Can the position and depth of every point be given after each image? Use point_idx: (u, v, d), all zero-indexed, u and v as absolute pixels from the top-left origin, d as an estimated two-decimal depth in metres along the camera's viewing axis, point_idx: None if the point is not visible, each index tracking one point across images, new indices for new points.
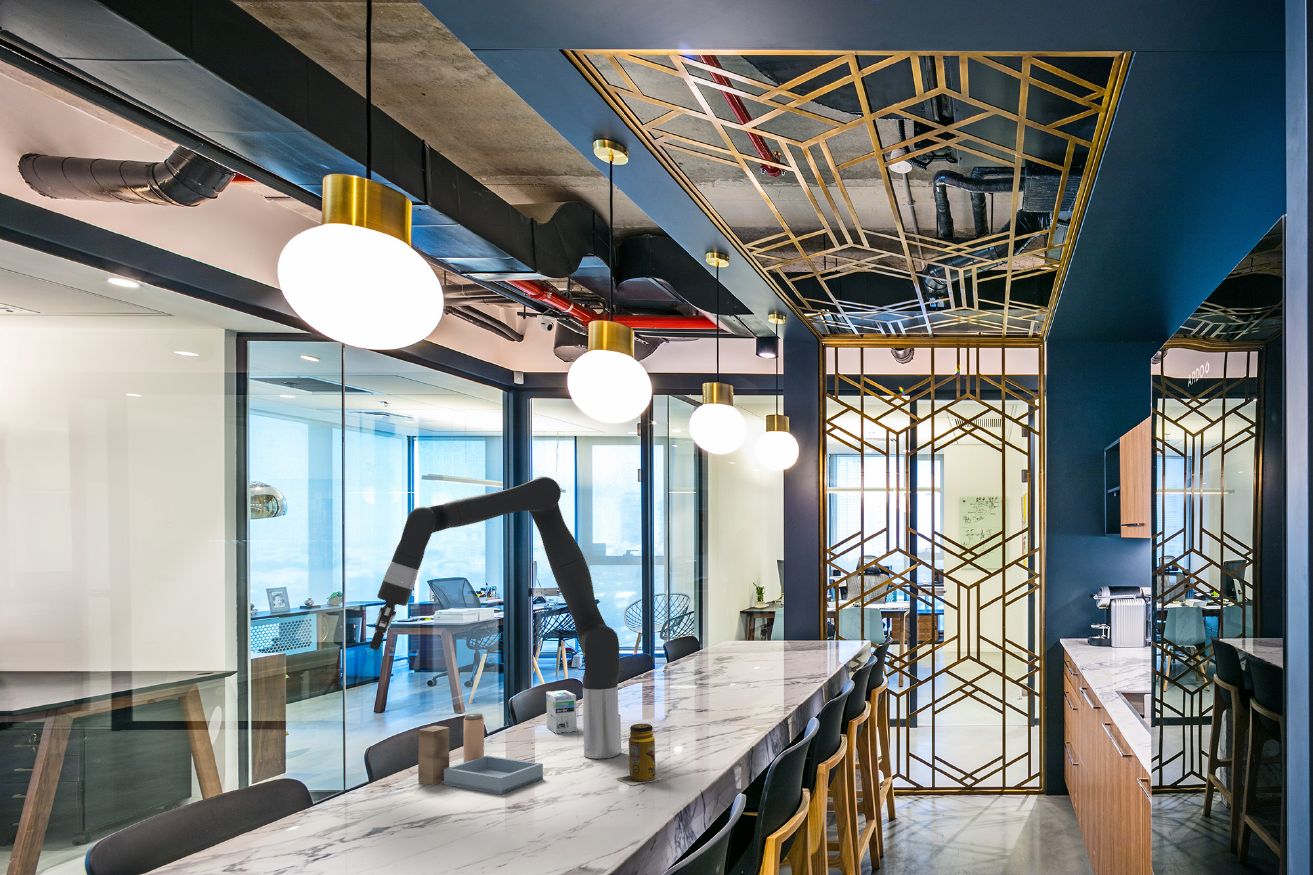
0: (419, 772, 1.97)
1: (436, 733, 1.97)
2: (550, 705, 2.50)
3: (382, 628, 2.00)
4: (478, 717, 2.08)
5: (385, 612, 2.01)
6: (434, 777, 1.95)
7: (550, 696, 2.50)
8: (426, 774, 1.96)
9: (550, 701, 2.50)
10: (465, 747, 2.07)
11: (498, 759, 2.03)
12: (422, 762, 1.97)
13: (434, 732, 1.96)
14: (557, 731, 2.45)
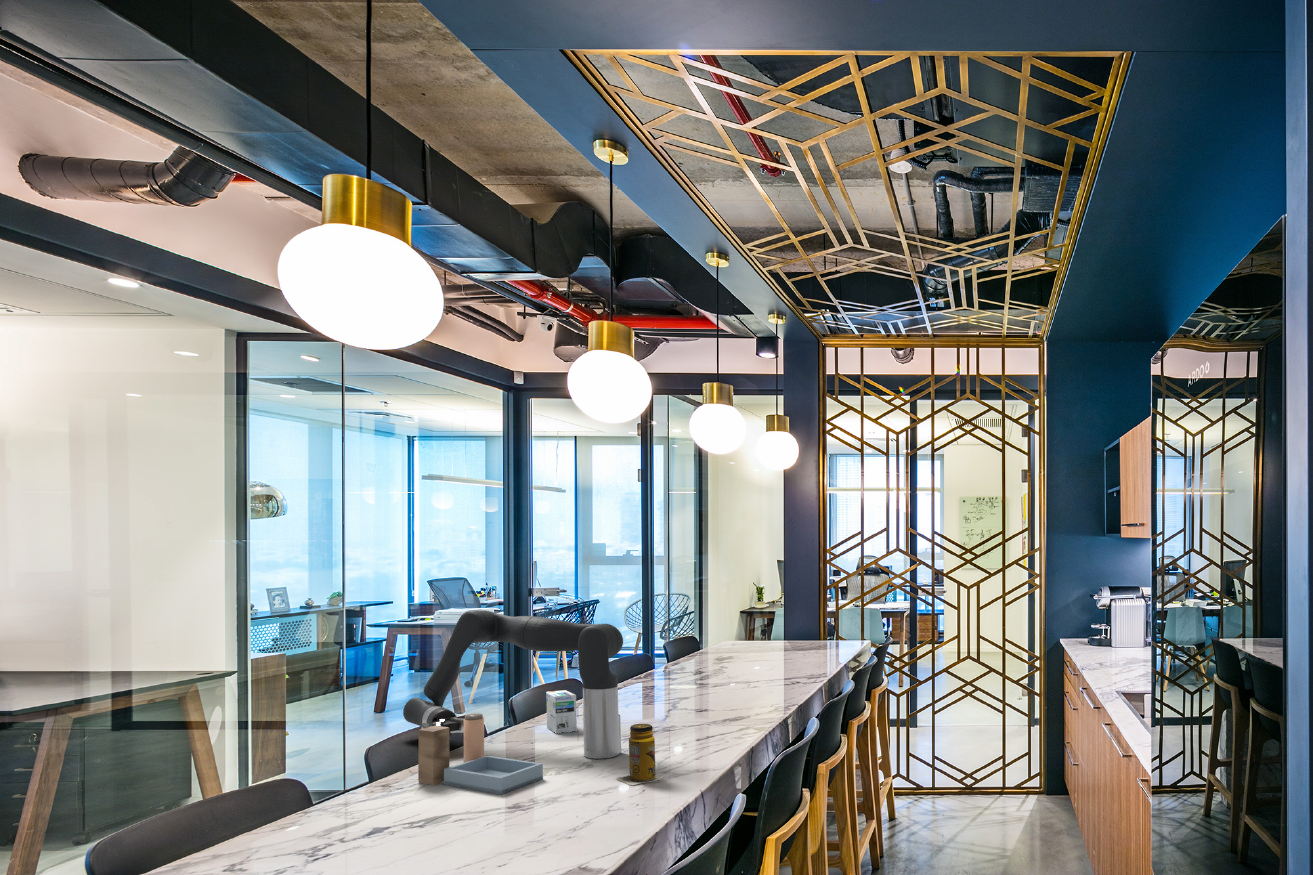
0: (419, 772, 1.97)
1: (436, 733, 1.97)
2: (550, 705, 2.50)
3: None
4: (478, 717, 2.08)
5: None
6: (434, 777, 1.95)
7: (550, 696, 2.50)
8: (426, 774, 1.96)
9: (550, 701, 2.50)
10: (465, 747, 2.07)
11: (498, 759, 2.03)
12: (422, 762, 1.97)
13: (434, 732, 1.96)
14: (557, 731, 2.45)
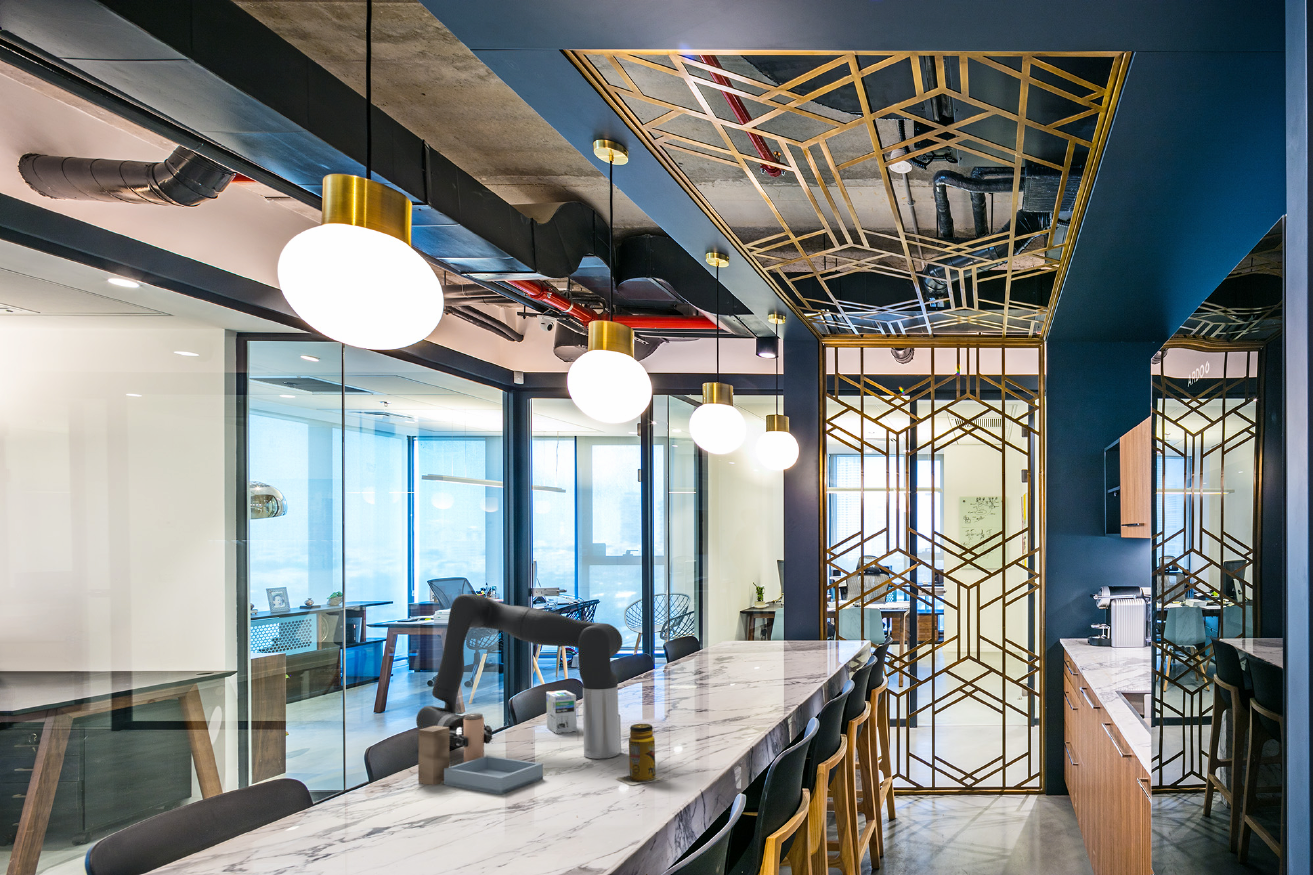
0: (419, 772, 1.97)
1: (436, 733, 1.97)
2: (550, 705, 2.50)
3: None
4: (478, 717, 2.08)
5: None
6: (434, 777, 1.95)
7: (550, 696, 2.50)
8: (426, 774, 1.96)
9: (550, 701, 2.50)
10: (465, 747, 2.07)
11: (498, 759, 2.03)
12: (422, 762, 1.97)
13: (434, 732, 1.96)
14: (557, 731, 2.45)
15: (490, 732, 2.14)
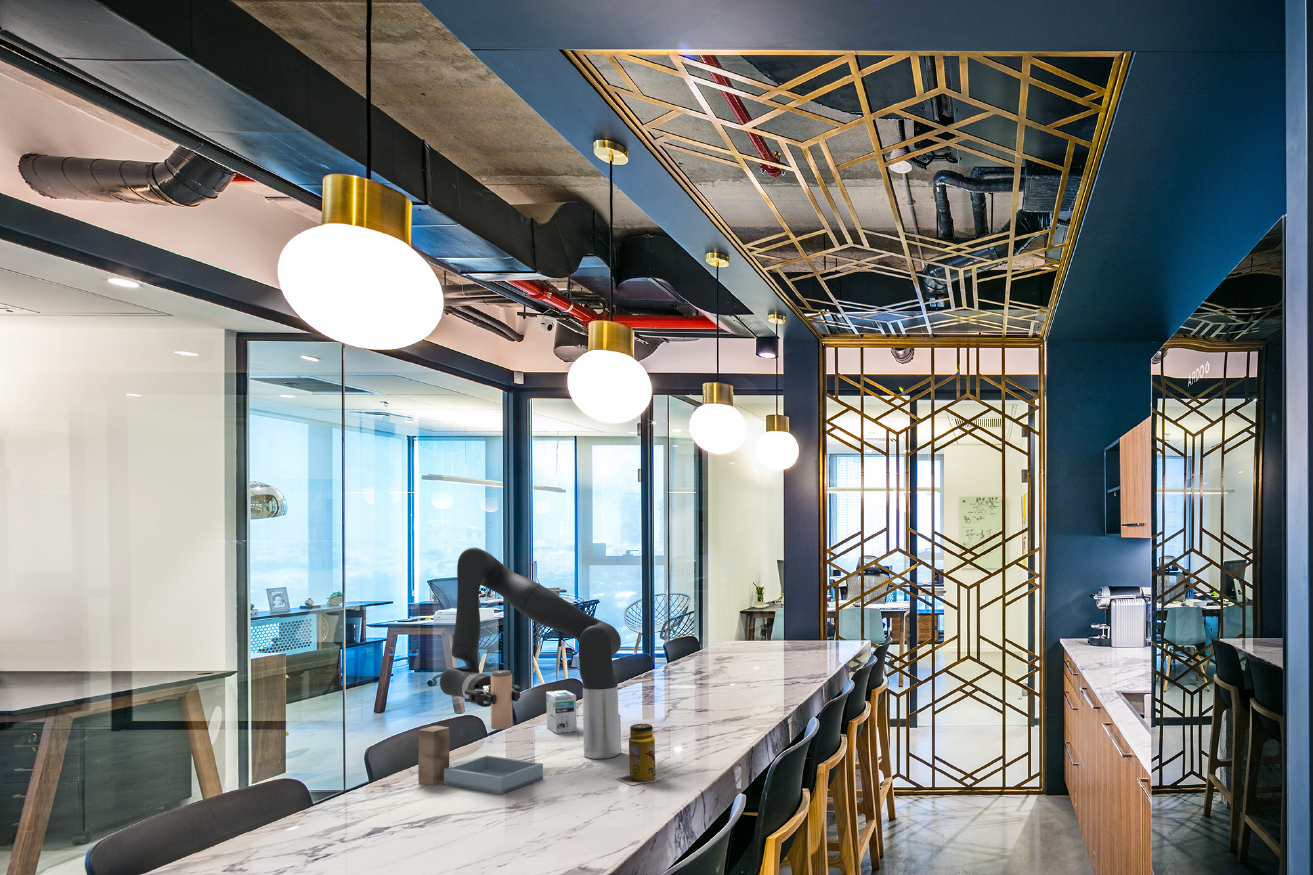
0: (419, 772, 1.97)
1: (436, 733, 1.97)
2: (550, 705, 2.50)
3: None
4: (506, 673, 1.99)
5: (466, 697, 2.01)
6: (434, 777, 1.95)
7: (550, 696, 2.50)
8: (426, 774, 1.96)
9: (550, 701, 2.50)
10: (492, 705, 1.98)
11: (498, 759, 2.03)
12: (422, 762, 1.97)
13: (434, 732, 1.96)
14: (557, 731, 2.45)
15: (518, 690, 2.04)
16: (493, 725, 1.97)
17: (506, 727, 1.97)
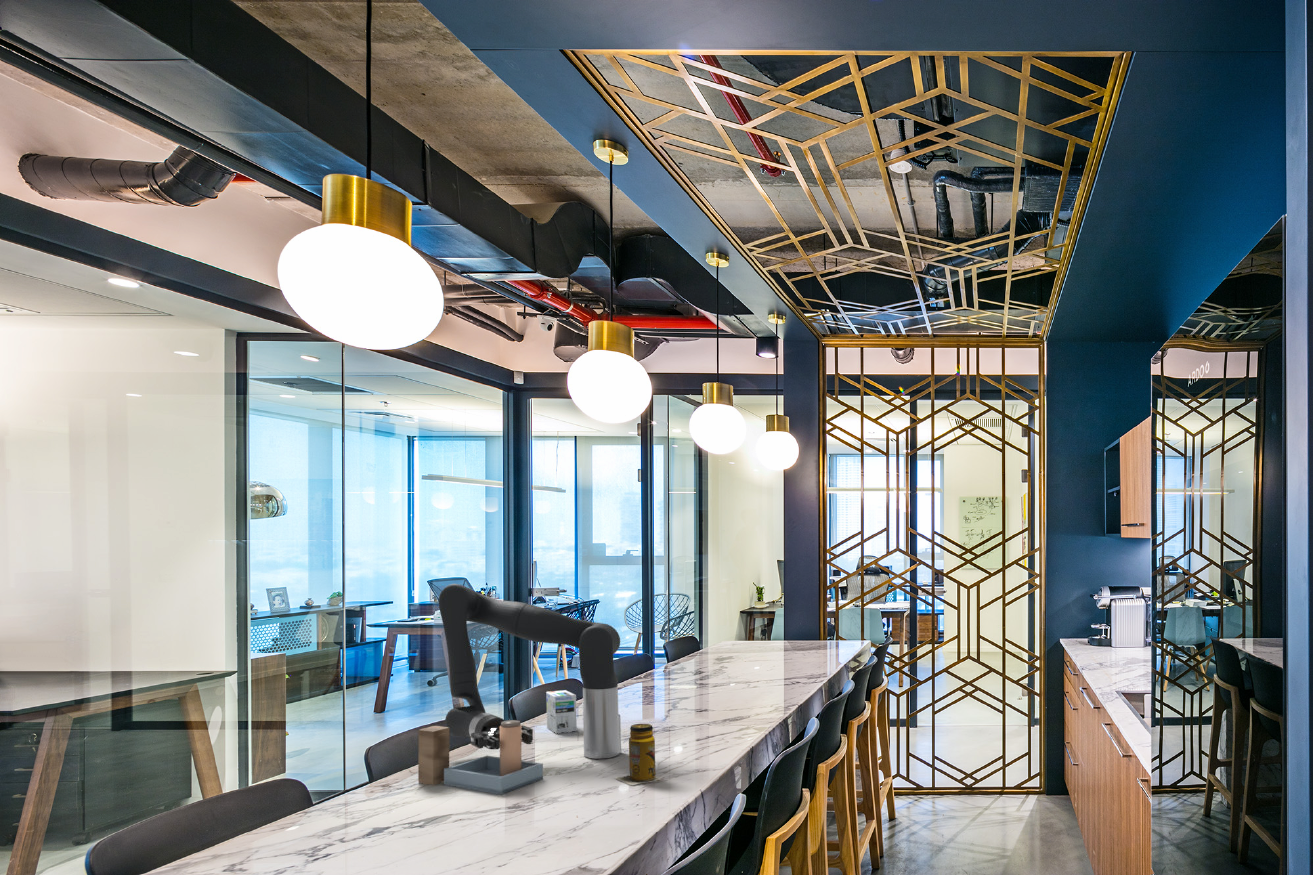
0: (419, 772, 1.97)
1: (436, 733, 1.97)
2: (550, 705, 2.50)
3: None
4: (515, 724, 1.94)
5: (472, 740, 1.97)
6: (434, 777, 1.95)
7: (550, 696, 2.50)
8: (426, 774, 1.96)
9: (550, 701, 2.50)
10: (501, 757, 1.93)
11: (498, 759, 2.03)
12: (422, 762, 1.97)
13: (434, 732, 1.96)
14: (557, 731, 2.45)
15: (531, 732, 2.00)
16: None
17: None
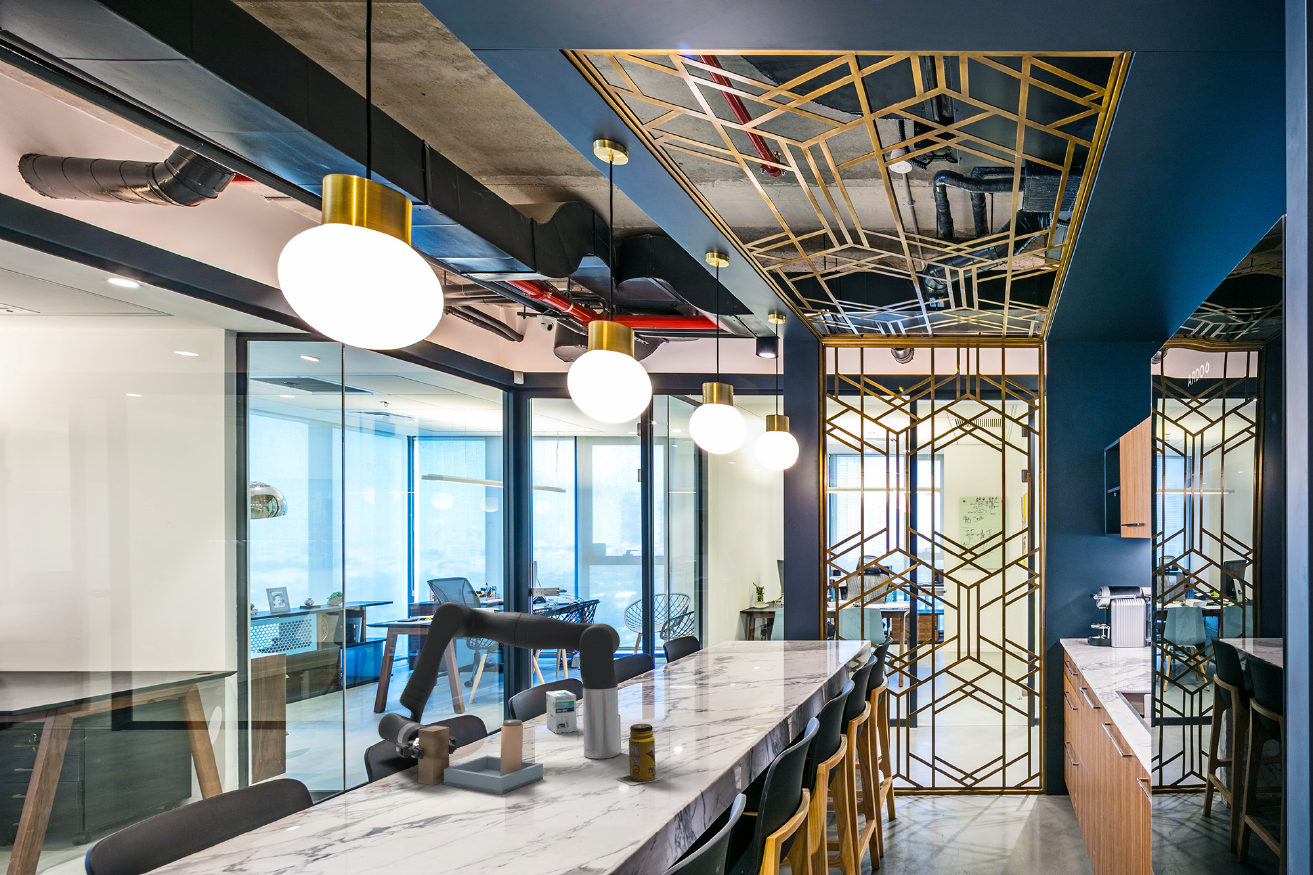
0: (419, 772, 1.97)
1: (436, 733, 1.96)
2: (550, 705, 2.50)
3: None
4: (516, 723, 1.94)
5: (397, 750, 2.01)
6: (434, 777, 1.95)
7: (550, 696, 2.50)
8: (425, 774, 1.96)
9: (550, 701, 2.50)
10: (502, 755, 1.93)
11: (498, 759, 2.03)
12: (422, 762, 1.97)
13: (434, 732, 1.96)
14: (557, 731, 2.45)
15: (454, 742, 2.03)
16: None
17: None
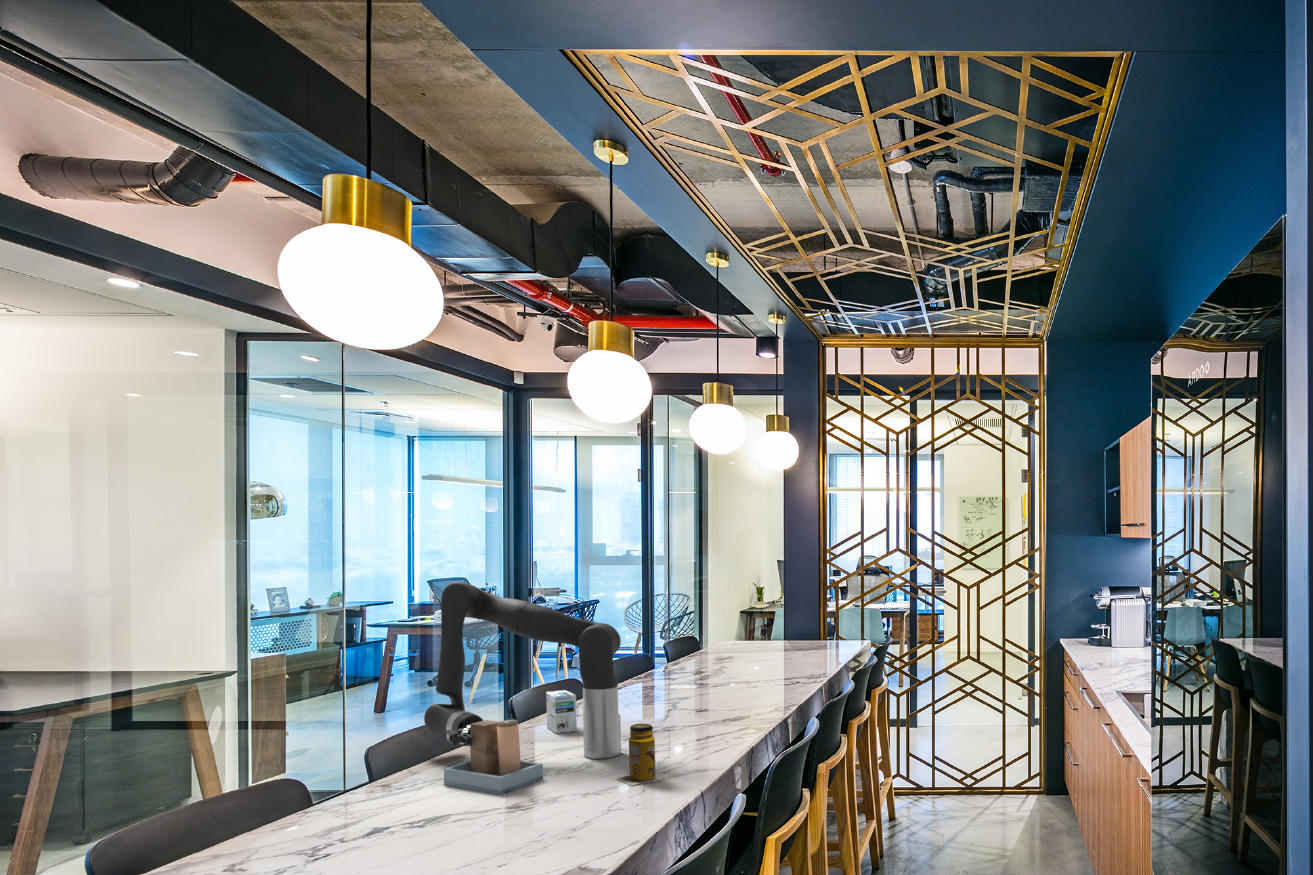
0: (471, 766, 1.98)
1: (488, 727, 1.97)
2: (550, 705, 2.50)
3: None
4: (509, 724, 1.94)
5: (447, 737, 2.02)
6: (487, 771, 1.95)
7: (550, 696, 2.50)
8: (478, 768, 1.96)
9: (550, 701, 2.50)
10: (499, 756, 1.94)
11: None
12: (474, 756, 1.97)
13: (486, 726, 1.97)
14: (557, 731, 2.45)
15: None
16: None
17: None
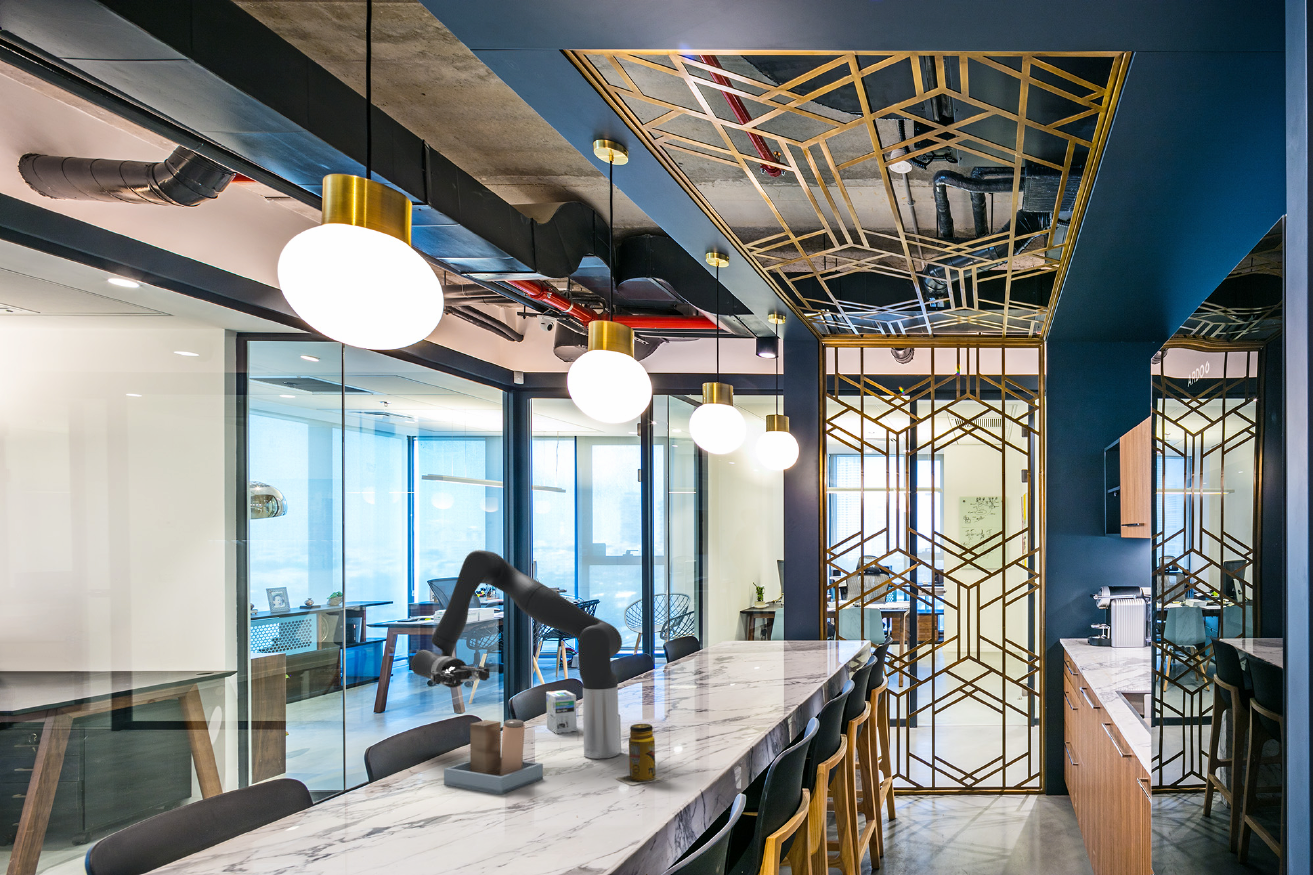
0: (471, 766, 1.98)
1: (488, 727, 1.97)
2: (550, 705, 2.50)
3: None
4: (514, 725, 1.93)
5: (431, 678, 2.14)
6: (487, 771, 1.95)
7: (550, 696, 2.50)
8: (478, 768, 1.96)
9: (550, 701, 2.50)
10: (501, 754, 1.94)
11: None
12: (474, 756, 1.97)
13: (486, 726, 1.97)
14: (557, 731, 2.45)
15: (488, 671, 2.18)
16: None
17: None
